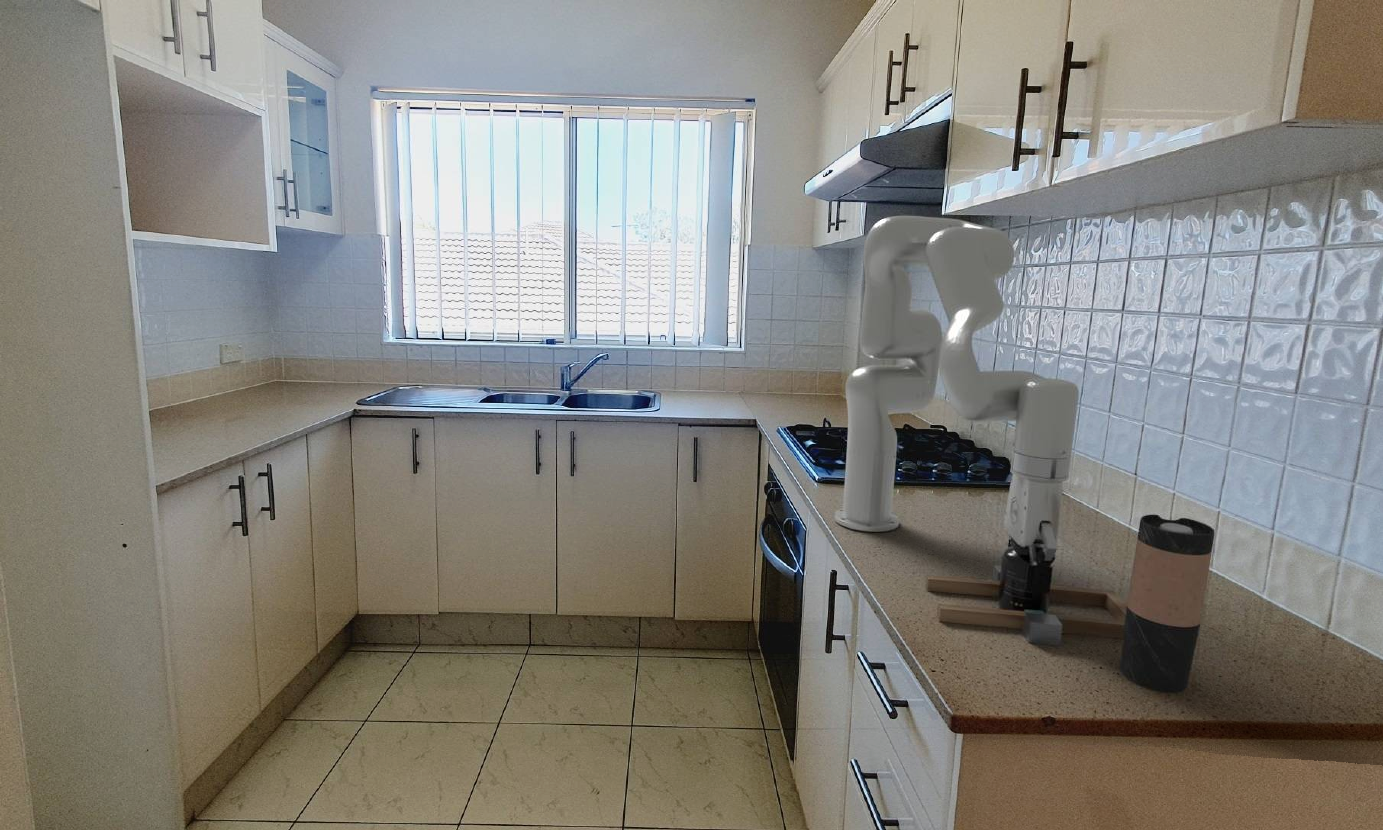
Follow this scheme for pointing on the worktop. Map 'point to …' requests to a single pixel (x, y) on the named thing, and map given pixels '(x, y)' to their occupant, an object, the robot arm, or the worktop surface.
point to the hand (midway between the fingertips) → (1026, 577)
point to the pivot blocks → (1037, 623)
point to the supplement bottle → (1018, 581)
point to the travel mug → (1165, 602)
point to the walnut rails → (1016, 617)
